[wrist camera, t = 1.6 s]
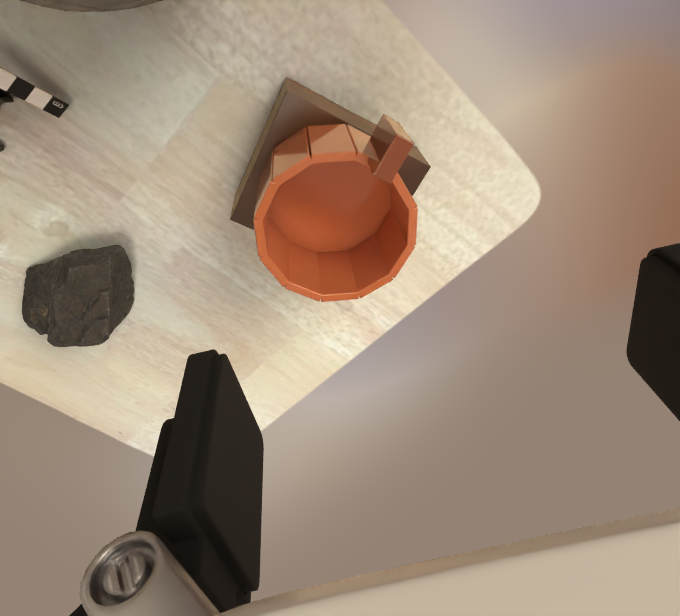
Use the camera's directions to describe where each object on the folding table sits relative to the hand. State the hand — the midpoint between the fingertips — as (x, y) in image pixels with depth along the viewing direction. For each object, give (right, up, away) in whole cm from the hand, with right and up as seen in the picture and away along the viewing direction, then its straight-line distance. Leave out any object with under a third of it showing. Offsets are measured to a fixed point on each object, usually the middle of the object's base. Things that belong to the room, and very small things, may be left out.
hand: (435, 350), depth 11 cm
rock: (-26, +3, +36) cm, 44 cm away
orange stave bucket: (-2, +11, +27) cm, 29 cm away
